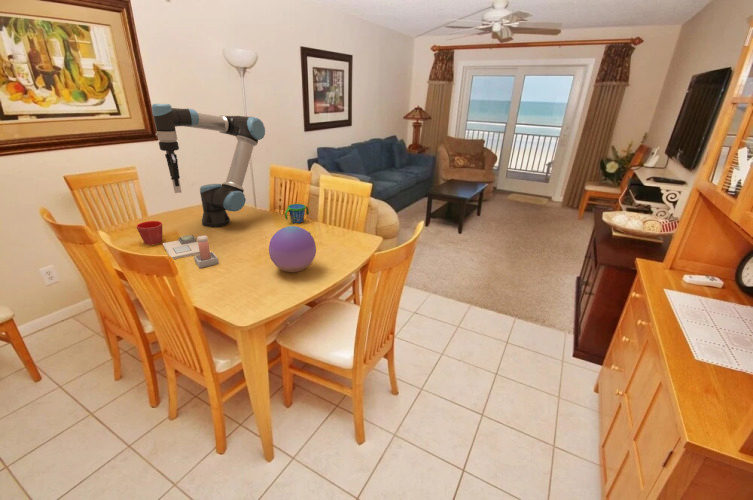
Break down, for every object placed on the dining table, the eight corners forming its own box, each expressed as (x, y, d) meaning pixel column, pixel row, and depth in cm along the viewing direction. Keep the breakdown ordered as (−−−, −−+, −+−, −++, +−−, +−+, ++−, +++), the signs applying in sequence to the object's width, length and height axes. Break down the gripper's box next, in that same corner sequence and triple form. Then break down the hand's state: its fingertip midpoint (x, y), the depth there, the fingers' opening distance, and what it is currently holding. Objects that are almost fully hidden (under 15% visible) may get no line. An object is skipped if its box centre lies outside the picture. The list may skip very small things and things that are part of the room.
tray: (213, 257, 159) (212, 251, 158) (218, 263, 154) (217, 257, 152) (195, 261, 155) (193, 255, 153) (199, 268, 149) (198, 262, 148)
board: (193, 239, 178) (192, 235, 177) (204, 252, 164) (203, 247, 163) (163, 245, 169) (161, 240, 168) (171, 259, 155) (170, 254, 154)
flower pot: (154, 247, 167) (150, 229, 163) (135, 245, 169) (130, 226, 165) (170, 239, 176) (167, 222, 173) (152, 237, 178) (148, 219, 174)
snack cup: (289, 226, 202) (288, 210, 198) (282, 221, 209) (280, 205, 205) (312, 222, 211) (312, 206, 206) (305, 217, 218) (304, 202, 214)
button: (191, 237, 176) (190, 234, 175) (194, 240, 172) (193, 237, 172) (180, 239, 173) (180, 236, 172) (183, 242, 169) (182, 239, 169)
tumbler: (209, 259, 156) (205, 234, 152) (212, 262, 154) (208, 237, 149) (200, 261, 154) (195, 236, 149) (202, 264, 151) (198, 239, 146)
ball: (274, 283, 140) (270, 238, 132) (267, 263, 156) (263, 222, 148) (321, 276, 147) (320, 233, 139) (310, 257, 164) (309, 218, 156)
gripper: (155, 139, 155) (166, 190, 165) (161, 142, 146) (172, 196, 156) (174, 139, 160) (183, 188, 169) (180, 142, 151) (190, 194, 160)
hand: (178, 192), depth 163 cm, fingers closed
